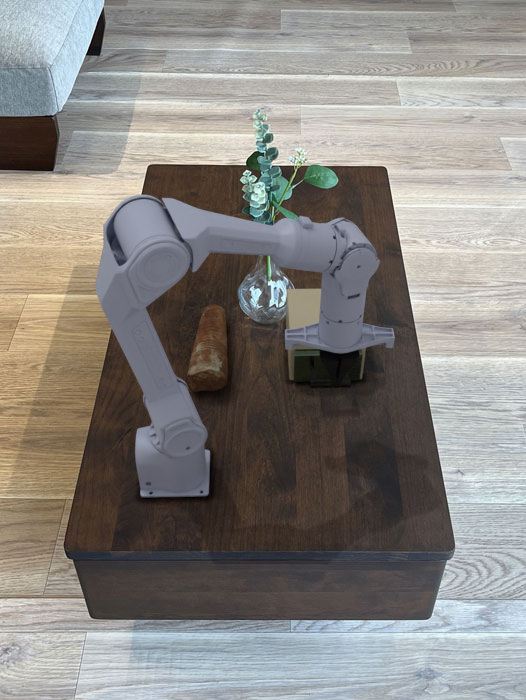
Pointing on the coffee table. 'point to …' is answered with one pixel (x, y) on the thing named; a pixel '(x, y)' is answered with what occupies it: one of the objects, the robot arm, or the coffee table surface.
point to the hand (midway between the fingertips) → (335, 381)
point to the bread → (209, 352)
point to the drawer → (320, 370)
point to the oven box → (304, 317)
